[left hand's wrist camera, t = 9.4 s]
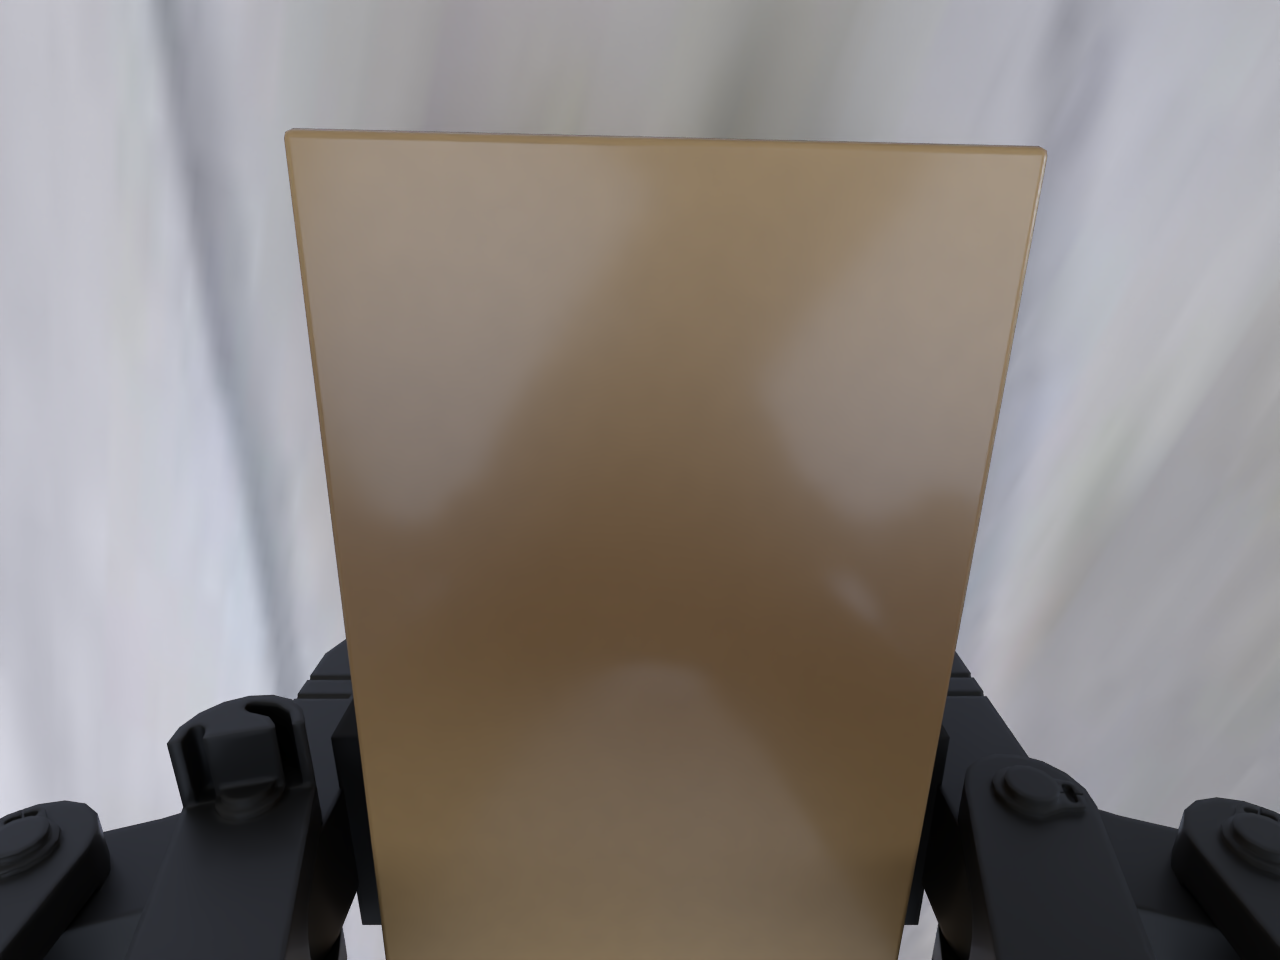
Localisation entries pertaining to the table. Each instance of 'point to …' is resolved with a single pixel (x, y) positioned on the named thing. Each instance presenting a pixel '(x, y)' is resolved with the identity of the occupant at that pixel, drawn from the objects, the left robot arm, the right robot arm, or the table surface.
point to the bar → (653, 521)
